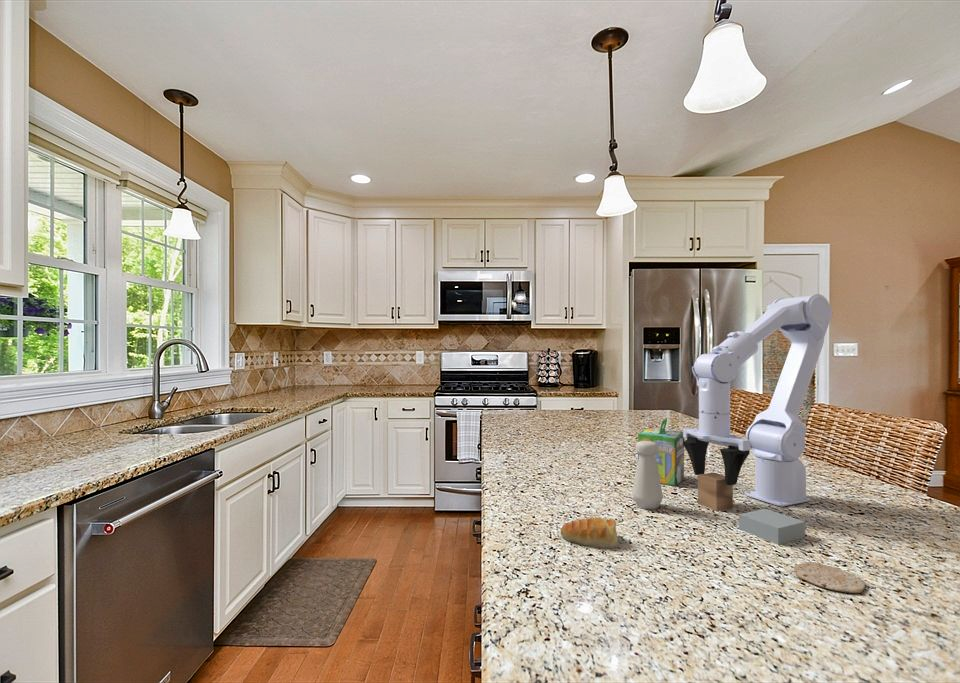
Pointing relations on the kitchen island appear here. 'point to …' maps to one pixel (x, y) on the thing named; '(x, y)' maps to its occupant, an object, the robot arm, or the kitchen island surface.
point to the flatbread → (829, 577)
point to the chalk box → (667, 453)
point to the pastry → (591, 532)
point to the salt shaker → (647, 477)
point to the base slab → (772, 526)
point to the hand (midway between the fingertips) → (714, 479)
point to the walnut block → (714, 492)
